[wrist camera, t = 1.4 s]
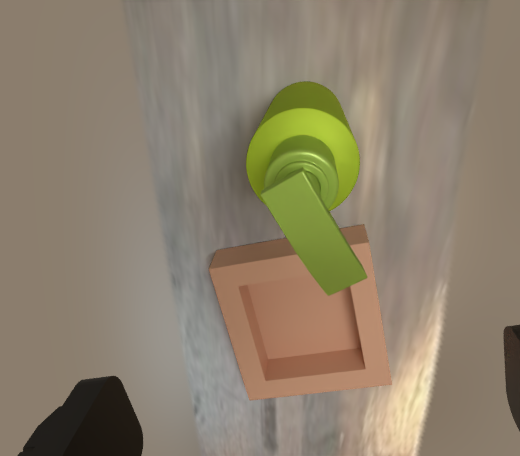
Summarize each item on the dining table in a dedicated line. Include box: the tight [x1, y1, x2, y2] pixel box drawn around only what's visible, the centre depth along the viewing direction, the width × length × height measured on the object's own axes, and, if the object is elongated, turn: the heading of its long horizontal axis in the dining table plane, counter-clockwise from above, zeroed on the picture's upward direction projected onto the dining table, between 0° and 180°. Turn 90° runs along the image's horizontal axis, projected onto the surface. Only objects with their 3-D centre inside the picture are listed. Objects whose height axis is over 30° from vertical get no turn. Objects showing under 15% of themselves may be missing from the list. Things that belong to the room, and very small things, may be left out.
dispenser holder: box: [209, 224, 392, 400], centre depth 41 cm, size 14×13×4 cm
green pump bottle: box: [246, 82, 367, 296], centre depth 27 cm, size 6×7×20 cm
